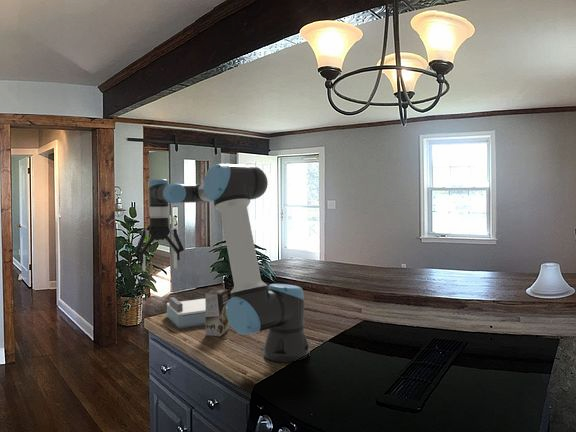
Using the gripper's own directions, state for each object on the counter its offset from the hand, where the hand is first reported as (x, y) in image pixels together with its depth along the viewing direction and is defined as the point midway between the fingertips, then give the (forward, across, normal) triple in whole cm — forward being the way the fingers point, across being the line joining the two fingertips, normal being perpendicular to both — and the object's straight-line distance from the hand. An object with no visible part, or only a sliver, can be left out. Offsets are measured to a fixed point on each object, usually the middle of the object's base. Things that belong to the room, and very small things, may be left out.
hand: (160, 269), depth 179 cm
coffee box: (+23, -17, +22) cm, 36 cm away
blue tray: (+23, -15, 0) cm, 27 cm away
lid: (+17, -15, 0) cm, 23 cm away
